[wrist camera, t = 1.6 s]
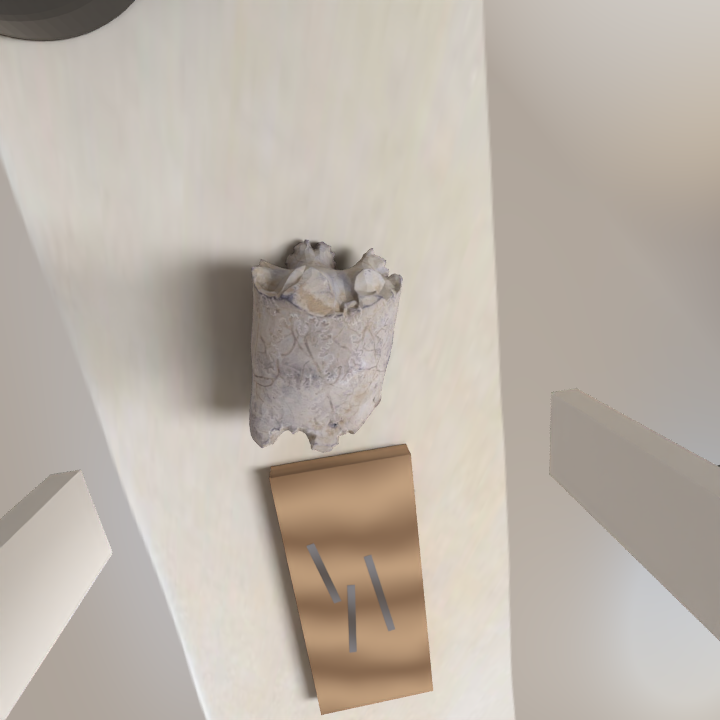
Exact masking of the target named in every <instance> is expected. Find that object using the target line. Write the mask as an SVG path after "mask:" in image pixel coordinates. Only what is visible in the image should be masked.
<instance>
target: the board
mask: <svg viewBox="0 0 720 720" xmlns="http://www.w3.org/2000/svg"><path fill="white" fill-rule="evenodd" d="M269 480H270V485H271V489H272V494H273V499H274V503H275V508H276V512H277V517H278V521H279V526H280V530H281V535H282V539H283V544H284V548H285V553H286V557H287V562H288V566H289V571H290V575H291V580H292V584H293V589H294V593H295V598H296V603H297V607H298V612H299V616H300V621H301V625H302V630H303V634H304V639H305V643H306V648H307V652H308V657H309V661H310V666H311V670H312V675H313V679H314V684H315V688H316V693H317V698H318V702H319V707H320V711H321V715H323V714H328V713H333V712H337V711H342V710H347V709H351V708H356V707H360V706H365V705H370V704H374V703H379V702H383V701H388V700H393V699H397V698H402V697H406V696H411V695H416V694H420V693H425V692H429V691H433V685H432V674H431V663H430V653H429V642H428V632H427V621H426V611H425V600H424V590H423V579H422V568H421V558H420V547H419V537H418V526H417V516H416V505H415V495H414V484H413V474H412V463H411V454H410V452H409V450H408V447H407V445H406V444H403V445H397V446H391V447H385V448H379V449H373V450H367V451H361V452H355V453H349V454H343V455H337V456H331V457H326V458H320V459H314V460H308V461H302V462H296V463H290V464H284V465H278V466H272V467H271V471H270V476H269Z"/></svg>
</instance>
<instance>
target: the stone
mask: <svg viewBox="0 0 720 720" xmlns="http://www.w3.org/2000/svg"><path fill="white" fill-rule="evenodd" d="M330 250H331V246H329V245H327V244H325V243H324V242H320V243H318V244H317V246H316V247H315V248H312V247H311V245H310V242H309V240H305V241H304V243H299V244H298V245H297V246H295V247H294V253H293V254H292V255H288V257H287V259H286V263H285V264H286V265H287V268H288V269H285V268H281V267H277V266H275V265H272V264H270V263H268V262H266V261H264V260H262V259H261V260H260V263H259V265H258V267H257V266H255V267H252V282H253V304H254V305H253V319H252V333H251V359H252V394H251V399H250V416H249V425H250V432H251V436H252V438H253V440H254V441H255V442H256V443H257V444H258V445H259V446H260V447H261V448H263V447H266V446H268V445H271V444H274V442H275V440H276V439H277V438H278V436H279V435H280V434H281V433H283V432H284V431H286V430H290V432H291V433H292V434H294V433H296V432H297V431H302V432H304V433H305V434H306V435H307V437H308V439H309V442H310V444H311V449H312V450H317V451H320V452H328V451H331V450H332V449H333V447H335V446H336V445H338V444H339V443H338V441H339V436H341V435H344V434H346V433H347V432H349V433H351V434H354V433H356V432H357V431H358V430H359V428H360V427H361V426H362V425H363V424H364V422H365V420H366V419H367V418H368V416H369V415H370V414H371V412H372V411H373V410H374V408H375V407H376V406H377V405H378V404H379V402H380V401H381V390H382V384H383V380H384V376H385V371H386V368H387V364H388V361H389V357H390V353H391V348H392V343H393V334H394V331H393V329H394V325H395V321H396V316H397V311H398V306H399V299H400V294H401V287H402V281H403V279H402V277H401V276H400V275H397V274H392V275H391V276H390V277H388V273H389V269H387V268H385V264H386V260H384V259H383V258H381V257H380V256H376V255H375V254H374V251H373V248H371V249H369V250H368V251H367V252H366V253H365V254H364V255H363V257H362V259H361V260H360V261H359V262H357V264H356V265H355V266H353V267H351V268H348V269H345V270H335V265H336V262H335V261H333V258H334V257H335V253H333V252H331V251H330Z"/></svg>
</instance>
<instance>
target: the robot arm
mask: <svg viewBox="0 0 720 720" xmlns="http://www.w3.org/2000/svg"><path fill="white" fill-rule="evenodd" d="M134 1H135V0H0V34H3V35H6V36H11V37H16V38H22V39H30V40H57V39H65V38H70V37H75V36H79V35H82V34H85V33H88V32H91V31H93V30H95V29H98V28H100V27H101V26H103V25H105V24H107V23H109V22H110V21H112V20H113V19H114V18H116V17H117V16H119V15H120V14H121V13H122V12H123V11H125V10H126V9H127V8H128V7H129V6H130V5H131V4H132V3H133V2H134ZM549 474H550V475H551V477H553V478H554V479H555V480H556V481H557V482H558V483H559V484H560V485H561V486H562V487H563V488H564V489H565V490H566V491H567V492H568V493H569V494H570V495H571V496H572V497H573V498H574V499H575V500H576V501H577V502H578V503H579V504H580V505H581V506H582V507H583V508H584V509H585V510H586V511H587V512H588V513H589V514H590V515H591V516H592V517H593V518H595V520H597V521H598V522H599V523H600V524H601V525H602V526H603V527H604V528H605V529H606V530H607V531H608V532H609V533H610V534H611V535H612V536H613V537H614V538H615V539H616V540H617V541H618V542H619V543H620V544H621V545H622V546H623V547H624V548H625V549H626V550H627V551H628V552H629V553H631V555H632V556H633V557H634V558H635V559H636V560H638V562H639V563H641V564H642V565H643V566H644V567H645V568H646V569H647V570H648V571H649V572H650V573H651V574H652V575H653V576H654V577H655V578H656V579H657V580H658V581H659V582H660V583H661V584H662V585H663V586H664V587H665V588H666V589H667V590H668V591H669V592H670V593H671V594H672V595H673V596H674V597H675V598H676V599H677V600H678V601H679V602H680V603H681V604H682V605H683V606H684V607H686V608H687V609H688V610H689V611H690V612H691V613H692V614H693V615H694V616H695V617H696V618H697V619H698V620H699V621H700V622H701V623H702V624H703V625H704V626H705V627H706V628H707V629H708V630H709V631H710V632H711V633H712V634H713V635H714V636H715V637H716V638H717V639H718V640H719V641H720V465H718V466H716V465H715V464H713V463H711V462H709V461H707V460H706V459H704V458H702V457H700V456H698V455H696V454H695V453H693V452H691V451H689V450H687V449H685V448H684V447H682V446H680V445H678V444H677V443H675V442H673V441H671V440H669V439H667V438H666V437H664V436H662V435H660V434H658V433H657V432H655V431H653V430H651V429H649V428H647V427H646V426H644V425H642V424H640V423H638V422H636V421H635V420H633V419H631V418H629V417H627V416H626V415H624V414H622V413H620V412H618V411H617V410H615V409H613V408H611V407H609V406H608V405H606V404H604V403H602V402H600V401H598V400H597V399H595V398H593V397H591V396H589V395H588V394H586V393H584V392H582V391H580V390H579V389H577V388H574V389H569V390H562V391H556V392H551V424H550V467H549ZM111 555H112V550H111V548H110V545H109V543H108V540H107V537H106V535H105V532H104V529H103V527H102V524H101V522H100V519H99V516H98V514H97V511H96V508H95V506H94V503H93V500H92V498H91V495H90V493H89V490H88V487H87V485H86V482H85V479H84V477H83V474H82V472H81V470H75V471H70V472H63V473H57V474H51V475H49V476H48V477H47V478H46V479H45V480H44V481H43V482H42V483H40V484H39V485H38V486H37V487H36V488H35V489H34V490H32V491H31V492H30V493H29V494H28V495H27V496H26V497H25V498H24V499H22V500H21V501H20V502H19V503H18V504H17V505H16V506H14V508H12V509H11V510H10V511H9V512H8V513H6V515H4V516H3V517H2V518H1V519H0V720H5V719H6V718H7V716H8V715H9V713H10V711H11V710H12V708H13V707H14V705H15V704H16V702H17V701H18V699H19V698H20V696H21V694H22V693H23V691H24V690H25V688H26V687H27V685H28V684H29V682H30V680H31V679H32V677H33V676H34V674H35V673H36V671H37V670H38V668H39V666H40V665H41V663H42V662H43V660H44V659H45V657H46V655H47V654H48V653H49V651H50V649H51V648H52V646H53V645H54V643H55V642H56V640H57V638H58V637H59V635H60V634H61V632H62V631H63V629H64V628H65V626H66V625H67V623H68V622H69V620H70V618H71V617H72V615H73V614H74V612H75V611H76V609H77V608H78V606H79V604H80V603H81V601H82V600H83V598H84V597H85V595H86V594H87V592H88V590H89V589H90V587H91V586H92V584H93V583H94V581H95V580H96V578H97V577H98V574H99V573H100V572H101V570H102V569H103V567H104V565H105V564H106V563H107V561H108V559H109V558H110V556H111Z"/></svg>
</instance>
